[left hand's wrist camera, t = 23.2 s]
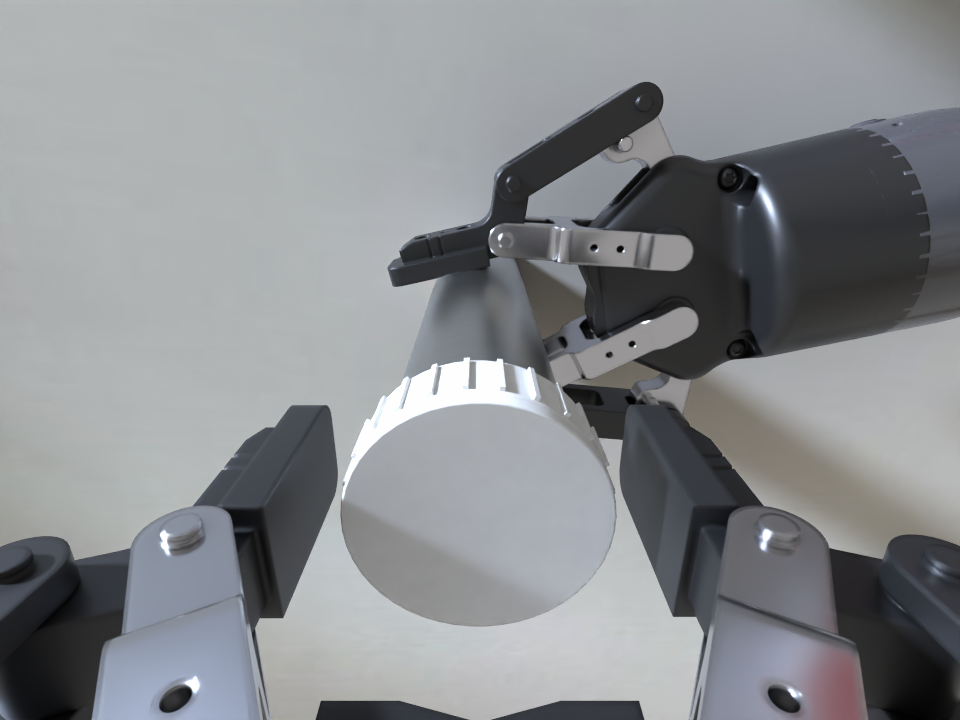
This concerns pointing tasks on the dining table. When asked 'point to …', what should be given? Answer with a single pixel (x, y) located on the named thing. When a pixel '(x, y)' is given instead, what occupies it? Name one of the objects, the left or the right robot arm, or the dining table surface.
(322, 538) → the dining table surface
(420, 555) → the lid
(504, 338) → the slim metal bottle
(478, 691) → the dining table surface
